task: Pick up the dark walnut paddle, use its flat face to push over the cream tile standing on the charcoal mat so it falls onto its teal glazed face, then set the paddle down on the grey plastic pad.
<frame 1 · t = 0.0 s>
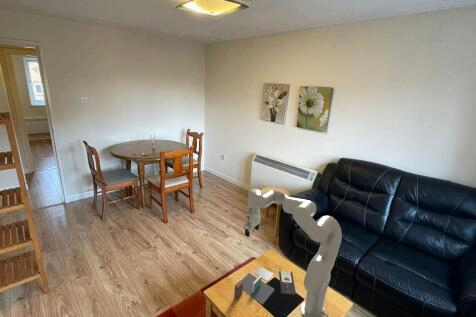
hand: (251, 232, 152), 31 cm above the table, fingers open, 9 cm apart
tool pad: (264, 274, 161), on the table
paddle: (238, 296, 143), on the table
tile: (256, 288, 149), resting on mat
mat: (255, 288, 150), on the table
chocolate bar: (286, 283, 155), on the table
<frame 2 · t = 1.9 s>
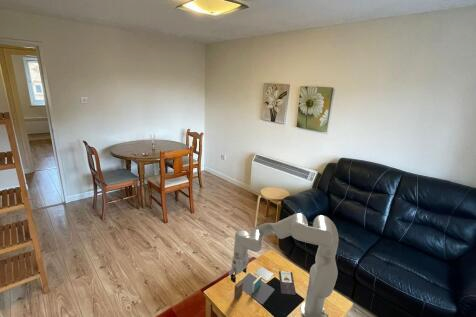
hand: (238, 276, 139), 15 cm above the table, fingers open, 9 cm apart
nothing on the table moved.
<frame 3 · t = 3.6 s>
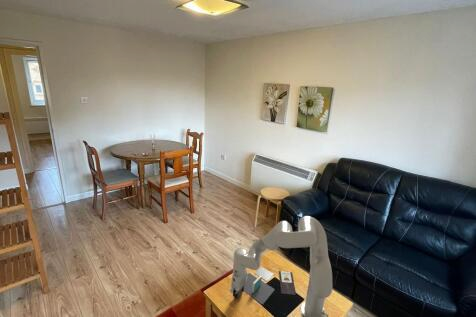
hand: (238, 293, 143), 2 cm above the table, fingers closed on paddle, 5 cm apart
paddle: (238, 296, 143), on the table, touching gripper
everything else where it was.
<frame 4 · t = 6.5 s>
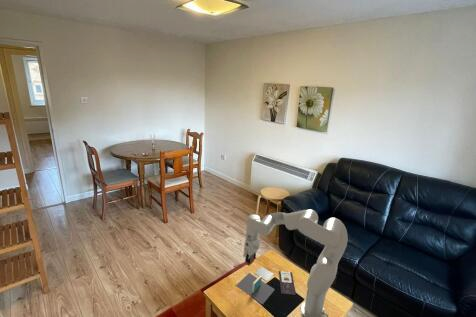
hand: (250, 259, 147), 19 cm above the table, fingers closed on paddle, 5 cm apart
paddle: (250, 262, 148), point 16 cm above the table, touching gripper
everything else where it was.
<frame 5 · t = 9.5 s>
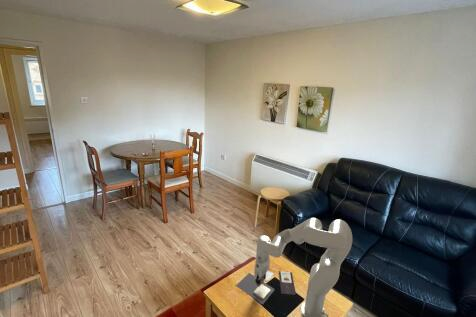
hand: (260, 280, 145), 8 cm above the table, fingers closed on paddle, 5 cm apart
paddle: (260, 283, 146), point 6 cm above the table, touching gripper
tile: (257, 288, 149), point 1 cm above the table, tilted 90°, touching mat
everything else where it was.
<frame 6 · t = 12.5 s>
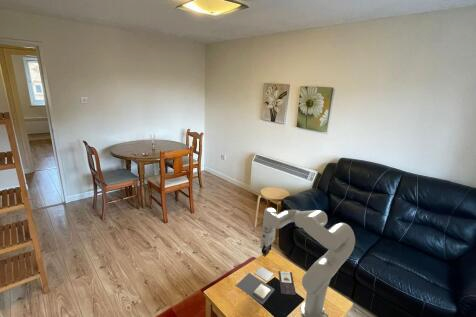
hand: (266, 251, 155), 19 cm above the table, fingers closed on paddle, 5 cm apart
paddle: (265, 254, 156), point 16 cm above the table, touching gripper
everything else where it was.
when the fingers open (4 cm above the table, at t = 15.5 s): paddle stays where it is, resting on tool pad.
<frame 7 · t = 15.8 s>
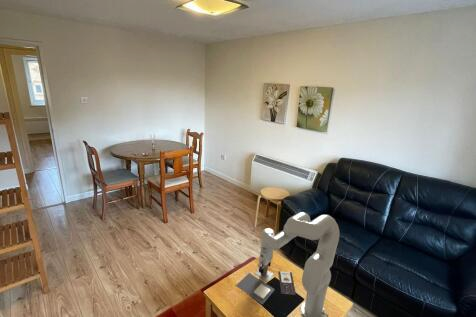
hand: (264, 268, 159), 5 cm above the table, fingers open, 8 cm apart
paddle: (264, 273, 161), point 1 cm above the table, touching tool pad
everything else where it was.
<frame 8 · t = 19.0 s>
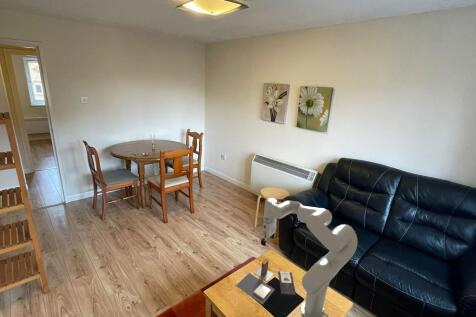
hand: (267, 241, 152), 26 cm above the table, fingers open, 9 cm apart
nothing on the table moved.
at the end: tile tilted 90°; tile inside the target area (0.7 cm from its centre), point 1.1 cm above the table; paddle inside the target area on the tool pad (0.1 cm from its centre), point 0.6 cm above the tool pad's base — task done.
